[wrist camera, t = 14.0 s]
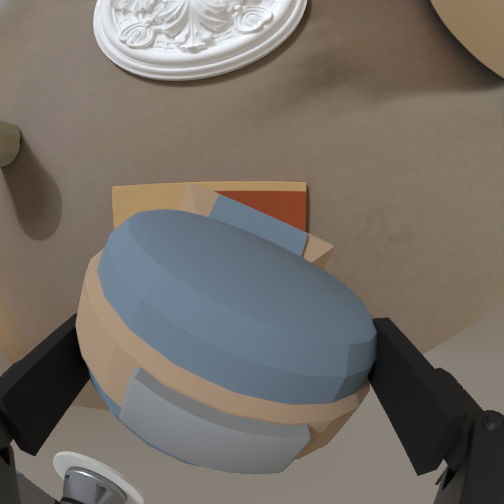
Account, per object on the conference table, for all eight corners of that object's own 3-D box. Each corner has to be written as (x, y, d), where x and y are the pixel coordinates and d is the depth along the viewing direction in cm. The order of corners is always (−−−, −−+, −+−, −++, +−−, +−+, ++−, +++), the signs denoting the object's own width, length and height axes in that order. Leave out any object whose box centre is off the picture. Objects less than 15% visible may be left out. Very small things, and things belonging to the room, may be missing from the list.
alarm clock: (138, 286, 24) (7, 426, 7) (178, 176, 22) (10, 173, 5) (291, 349, 26) (329, 533, 8) (344, 250, 24) (491, 375, 6)
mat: (296, 371, 38) (296, 374, 37) (135, 365, 38) (133, 368, 37) (305, 182, 32) (306, 182, 32) (113, 186, 32) (111, 186, 32)
